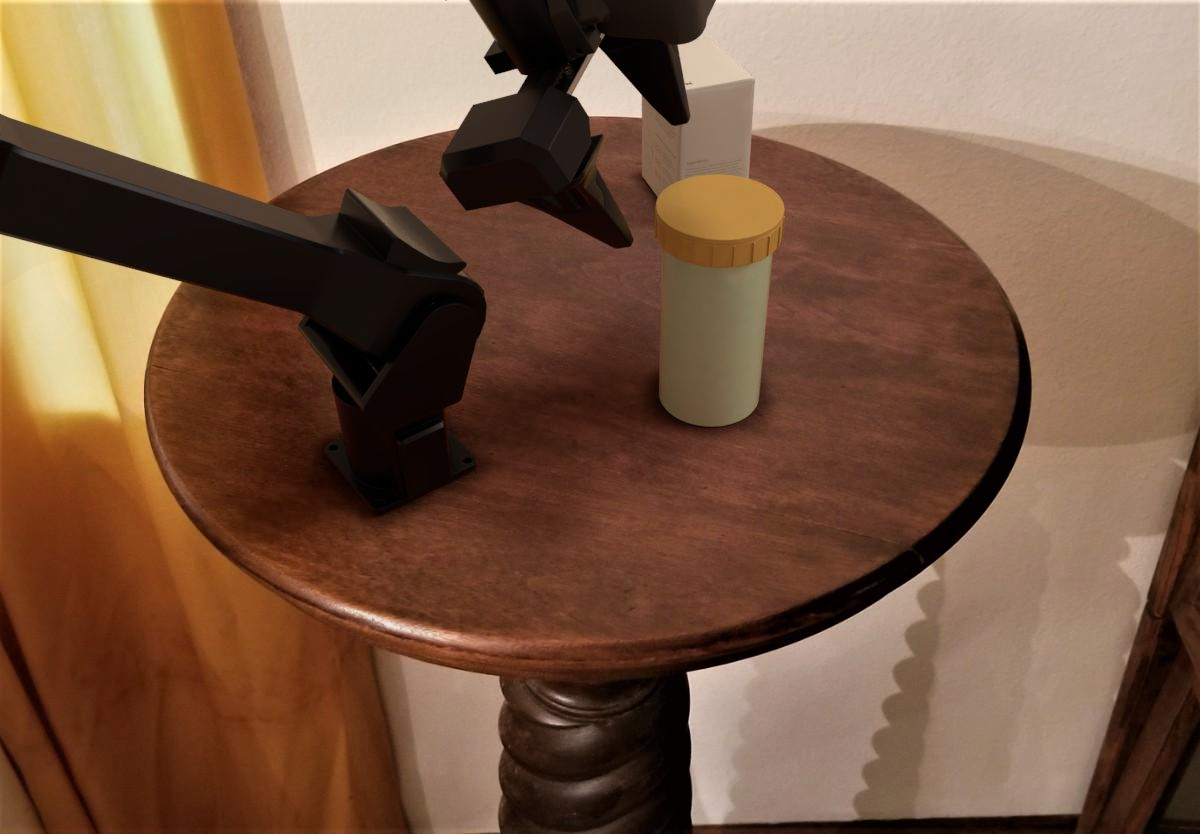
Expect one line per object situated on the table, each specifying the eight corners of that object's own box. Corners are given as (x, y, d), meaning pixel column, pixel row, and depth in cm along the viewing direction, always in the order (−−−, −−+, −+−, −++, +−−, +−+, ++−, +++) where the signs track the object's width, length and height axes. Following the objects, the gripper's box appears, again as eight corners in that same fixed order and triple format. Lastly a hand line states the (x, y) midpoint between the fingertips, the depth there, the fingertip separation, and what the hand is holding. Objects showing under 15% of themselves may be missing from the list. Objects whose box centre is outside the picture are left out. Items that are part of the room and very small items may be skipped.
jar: (638, 388, 69) (639, 206, 61) (714, 351, 72) (725, 173, 64) (702, 441, 66) (712, 255, 57) (780, 400, 68) (800, 217, 60)
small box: (747, 214, 85) (758, 78, 78) (676, 227, 83) (680, 90, 76) (706, 164, 90) (713, 34, 83) (639, 176, 89) (640, 44, 82)
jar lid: (628, 227, 62) (628, 199, 61) (725, 188, 65) (726, 161, 64) (710, 283, 58) (711, 254, 57) (809, 239, 61) (812, 211, 60)
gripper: (560, -6, 40) (742, 301, 49) (716, -267, 49) (843, 33, 59) (342, 63, 46) (541, 322, 56) (517, -179, 56) (661, 78, 66)
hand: (654, 181), depth 59 cm, fingers open, 9 cm apart
